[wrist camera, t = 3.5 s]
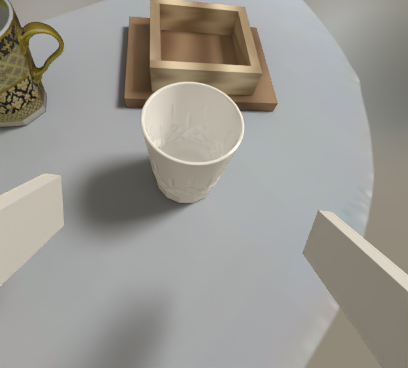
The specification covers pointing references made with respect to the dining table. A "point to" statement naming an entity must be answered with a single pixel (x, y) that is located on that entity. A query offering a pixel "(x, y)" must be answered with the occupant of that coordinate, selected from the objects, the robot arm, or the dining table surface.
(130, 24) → the tray
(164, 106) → the white cup
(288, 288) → the dining table surface
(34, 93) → the ceramic cup
